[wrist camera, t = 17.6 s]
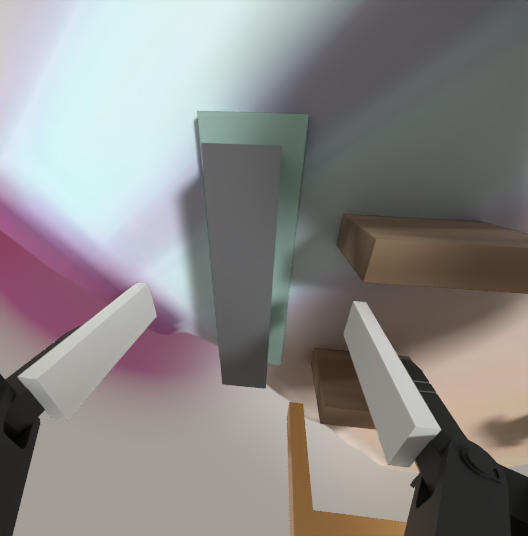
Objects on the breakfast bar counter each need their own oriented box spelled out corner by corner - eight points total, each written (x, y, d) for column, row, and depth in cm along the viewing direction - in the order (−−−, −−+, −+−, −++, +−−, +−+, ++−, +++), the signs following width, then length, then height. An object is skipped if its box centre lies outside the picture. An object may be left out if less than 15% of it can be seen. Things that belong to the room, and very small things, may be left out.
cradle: (343, 214, 15) (376, 239, 10) (480, 221, 15) (593, 251, 9) (311, 363, 23) (320, 423, 18) (400, 372, 22) (438, 435, 17)
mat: (200, 113, 13) (197, 110, 13) (307, 116, 13) (309, 113, 12) (221, 355, 24) (219, 360, 23) (280, 361, 23) (280, 365, 23)
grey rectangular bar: (222, 149, 13) (201, 142, 10) (281, 151, 13) (281, 145, 10) (231, 349, 22) (222, 384, 18) (268, 352, 22) (265, 388, 18)
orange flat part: (289, 402, 22) (295, 578, 13) (423, 416, 22) (537, 614, 12) (287, 417, 24) (291, 586, 14) (413, 430, 23) (507, 619, 13)
